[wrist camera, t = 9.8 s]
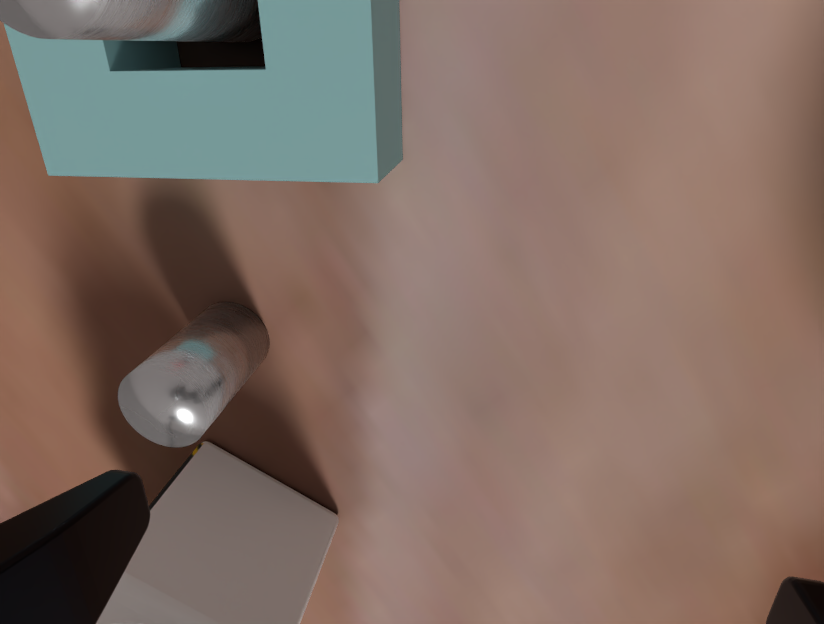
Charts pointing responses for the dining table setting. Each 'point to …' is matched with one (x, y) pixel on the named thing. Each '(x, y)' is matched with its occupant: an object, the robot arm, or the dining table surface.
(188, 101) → the socket block
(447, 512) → the dining table surface
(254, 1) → the pin medium
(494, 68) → the dining table surface
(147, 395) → the pin short
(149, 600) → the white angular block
